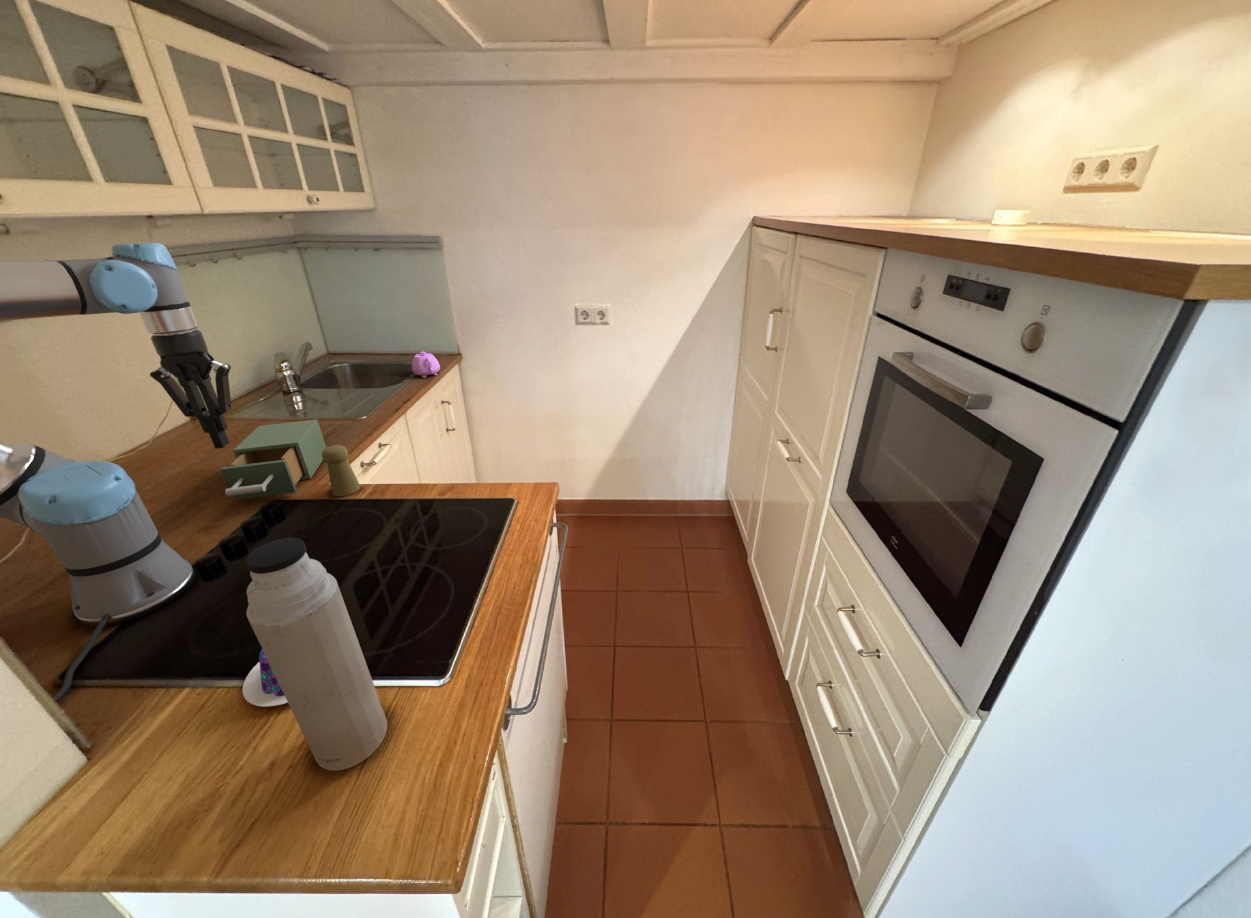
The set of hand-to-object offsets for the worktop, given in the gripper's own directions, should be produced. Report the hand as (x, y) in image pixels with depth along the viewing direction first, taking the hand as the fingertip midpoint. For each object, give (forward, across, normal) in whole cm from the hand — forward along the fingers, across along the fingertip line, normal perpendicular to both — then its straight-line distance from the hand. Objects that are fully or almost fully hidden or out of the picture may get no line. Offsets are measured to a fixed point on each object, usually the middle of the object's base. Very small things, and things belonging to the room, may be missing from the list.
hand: (222, 445), depth 104 cm
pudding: (+16, -26, +53) cm, 61 cm away
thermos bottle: (+16, -36, +66) cm, 77 cm away
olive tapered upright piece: (+16, -19, -3) cm, 25 cm away
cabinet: (+15, -2, -20) cm, 25 cm away
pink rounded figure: (+15, -27, -101) cm, 105 cm away
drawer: (+14, -2, -7) cm, 16 cm away
